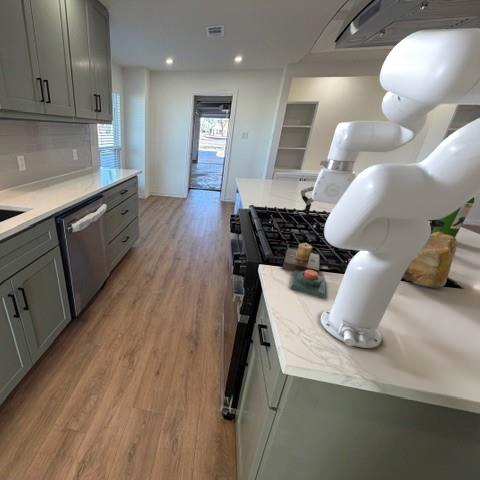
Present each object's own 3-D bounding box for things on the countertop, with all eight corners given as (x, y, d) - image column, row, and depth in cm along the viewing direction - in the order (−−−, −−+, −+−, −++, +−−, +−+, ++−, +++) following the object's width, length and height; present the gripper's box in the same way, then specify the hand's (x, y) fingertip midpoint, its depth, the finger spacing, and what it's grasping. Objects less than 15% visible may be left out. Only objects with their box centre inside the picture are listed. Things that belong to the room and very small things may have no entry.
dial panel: (316, 277, 87) (319, 270, 85) (281, 269, 92) (283, 261, 90) (317, 261, 98) (319, 254, 97) (286, 254, 103) (288, 247, 102)
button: (316, 281, 79) (317, 276, 78) (303, 277, 80) (304, 273, 80) (316, 276, 82) (318, 271, 81) (304, 273, 83) (305, 268, 83)
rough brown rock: (388, 257, 104) (399, 223, 99) (447, 271, 92) (463, 232, 87) (374, 278, 91) (385, 239, 85) (441, 296, 79) (459, 253, 73)
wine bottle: (444, 243, 118) (481, 172, 105) (422, 236, 126) (454, 169, 113) (457, 242, 120) (495, 172, 107) (435, 234, 128) (468, 169, 115)
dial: (308, 262, 91) (312, 248, 89) (295, 258, 93) (298, 245, 91) (309, 257, 94) (313, 244, 92) (296, 254, 96) (299, 241, 94)
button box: (323, 298, 76) (326, 288, 74) (290, 289, 80) (293, 279, 79) (323, 281, 85) (326, 272, 83) (293, 274, 89) (296, 265, 87)
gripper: (307, 164, 79) (293, 216, 86) (376, 171, 71) (354, 227, 78) (308, 161, 85) (295, 210, 92) (372, 167, 77) (352, 220, 84)
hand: (322, 218), depth 85 cm, fingers open, 9 cm apart
